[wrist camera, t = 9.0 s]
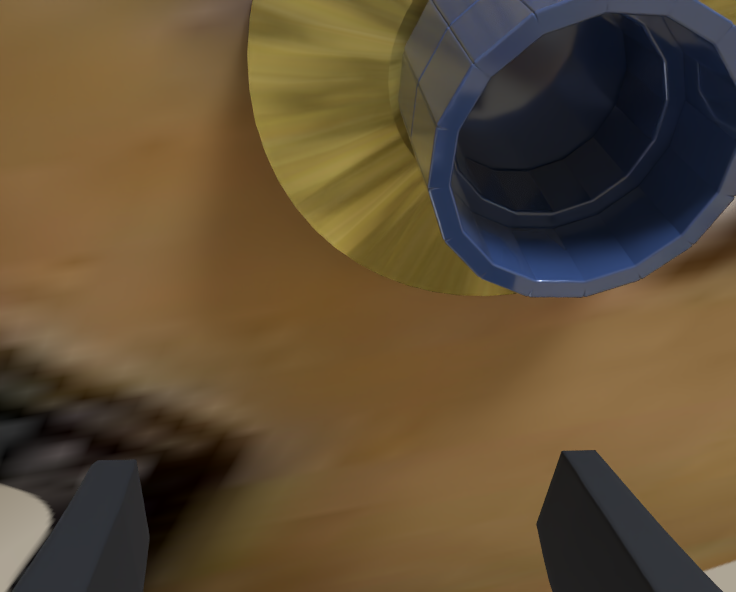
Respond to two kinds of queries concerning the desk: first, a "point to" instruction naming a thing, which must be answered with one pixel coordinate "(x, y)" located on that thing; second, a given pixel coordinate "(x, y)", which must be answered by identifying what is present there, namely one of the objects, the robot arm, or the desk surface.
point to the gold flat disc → (354, 133)
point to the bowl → (571, 135)
